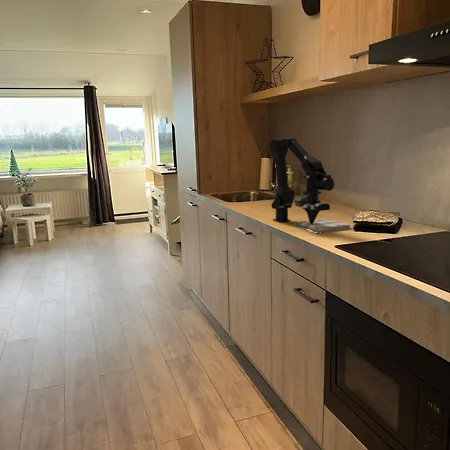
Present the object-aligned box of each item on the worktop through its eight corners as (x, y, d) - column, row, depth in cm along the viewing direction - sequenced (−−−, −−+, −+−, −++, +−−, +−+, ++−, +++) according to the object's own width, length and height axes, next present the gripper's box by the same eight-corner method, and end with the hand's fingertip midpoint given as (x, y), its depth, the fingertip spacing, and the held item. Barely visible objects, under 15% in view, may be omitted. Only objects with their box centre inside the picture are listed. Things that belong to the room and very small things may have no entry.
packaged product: (378, 219, 185) (355, 218, 186) (378, 229, 186) (355, 229, 187) (371, 212, 202) (350, 211, 204) (371, 221, 203) (349, 221, 204)
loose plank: (299, 224, 194) (299, 221, 194) (316, 222, 198) (317, 219, 198) (320, 231, 180) (320, 227, 179) (338, 229, 184) (339, 226, 183)
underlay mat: (292, 225, 194) (292, 224, 194) (325, 221, 202) (325, 221, 202) (316, 233, 177) (316, 233, 177) (352, 229, 185) (352, 228, 185)
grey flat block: (317, 222, 198) (317, 219, 198) (327, 221, 200) (327, 218, 200) (339, 229, 184) (339, 225, 183) (349, 228, 186) (350, 224, 186)
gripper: (285, 188, 191) (285, 221, 194) (309, 192, 174) (308, 229, 177) (305, 186, 195) (305, 219, 198) (331, 190, 178) (330, 226, 181)
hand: (311, 223), depth 189 cm, fingers closed
